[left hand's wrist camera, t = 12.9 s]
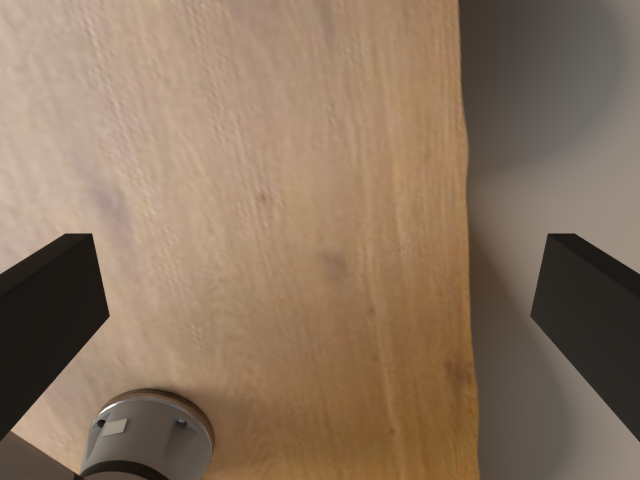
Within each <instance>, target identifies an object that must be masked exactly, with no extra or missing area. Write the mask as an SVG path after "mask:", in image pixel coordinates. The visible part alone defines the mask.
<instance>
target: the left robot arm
mask: <svg viewBox="0 0 640 480" xmlns="http://www.w3.org/2000/svg"><path fill="white" fill-rule="evenodd" d="M109 316H110V315H109V311H108V306H107V301H106V297H105V292H104V287H103V283H102V278H101V273H100V268H99V264H98V259H97V254H96V250H95V245H94V240H93V236H92V234H64V235H62V236H61V237H59V238H58V239H56V240H54V241H53V242H51V243H50V244H48V245H46V246H45V247H43V248H42V249H40V250H38V251H37V252H35V253H34V254H32V255H30V256H29V257H27V258H26V259H24V260H22V261H21V262H19V263H18V264H16V265H14V266H13V267H11V268H9V269H8V270H6V271H5V272H3V273H1V274H0V480H200V478H201V477H202V476H203V474H204V473H205V471H206V470H207V468H208V466H209V464H210V461H211V457H212V454H213V450H214V445H215V437H214V432H213V429H212V427H211V424H210V423H209V421H208V419H207V418H206V417H205V415H204V414H203V413H202V412H201V411H200V410H199V409H198V408H197V407H195V406H194V405H193V404H191V403H190V402H188V401H187V400H185V399H183V398H181V397H178V396H176V395H173V394H170V393H167V392H162V391H156V390H137V391H131V392H127V393H124V394H121V395H119V396H117V397H115V398H113V399H112V400H110V401H109V402H108V403H106V404H105V405H104V407H103V408H102V409H101V410H100V412H99V413H98V415H97V416H96V418H95V420H94V421H93V423H92V425H91V427H90V430H89V434H88V438H87V443H86V447H85V452H84V456H83V461H82V465H81V470H80V474H79V475H78V474H76V473H75V472H73V471H71V470H70V469H68V468H67V467H65V466H64V465H62V464H61V463H59V462H58V461H56V460H54V459H53V458H51V457H50V456H48V455H47V454H45V453H44V452H42V451H41V450H39V449H38V448H36V447H35V446H33V445H31V444H30V443H28V442H27V441H25V440H24V439H22V438H21V437H19V436H18V435H16V434H15V433H13V432H12V431H10V430H11V429H12V428H13V427H14V426H15V424H16V423H17V422H18V421H19V420H20V419H21V418H22V416H23V415H24V414H25V413H26V412H27V411H28V410H29V408H30V407H31V406H32V405H33V404H34V403H35V402H36V400H37V399H38V398H39V397H40V396H41V395H42V393H43V392H44V391H45V390H46V389H47V388H48V387H49V385H50V384H51V383H52V382H53V381H54V380H55V379H56V377H57V376H58V375H59V374H60V373H61V372H62V370H63V369H64V368H65V367H66V366H67V365H68V364H69V362H70V361H71V360H72V359H73V358H74V357H75V356H76V354H77V353H78V352H79V351H80V350H81V349H82V347H83V346H84V345H85V344H86V343H87V342H88V341H89V339H90V338H91V337H92V336H93V335H94V334H95V333H96V331H97V330H98V329H99V328H100V327H101V326H102V324H103V323H104V322H105V321H106V320H107V319H108V318H109ZM530 316H531V318H532V319H533V320H534V321H535V322H536V323H537V324H538V326H539V327H540V328H541V329H542V330H543V331H544V333H545V334H546V335H547V336H548V337H549V338H550V339H551V341H552V342H553V343H554V344H555V345H556V346H557V347H558V349H559V350H560V351H561V352H562V353H563V354H564V356H565V357H566V358H567V359H568V360H569V361H570V362H571V364H572V365H573V366H574V367H575V368H576V369H577V370H578V372H579V373H580V374H581V375H582V376H583V377H584V379H585V380H586V381H587V382H588V383H589V384H590V385H591V387H592V388H593V389H594V390H595V391H596V392H597V393H598V395H599V396H600V397H601V398H602V399H603V400H604V402H605V403H606V404H607V405H608V406H609V407H610V408H611V410H612V411H613V412H614V413H615V414H616V415H617V416H618V418H619V419H620V420H621V421H622V422H623V423H624V424H625V426H626V427H627V428H628V429H629V430H630V431H631V433H632V434H633V435H634V436H635V437H636V438H637V439H638V441H639V442H640V274H638V273H637V272H635V271H634V270H632V269H630V268H629V267H627V266H626V265H624V264H622V263H621V262H619V261H618V260H616V259H614V258H613V257H611V256H610V255H608V254H606V253H605V252H603V251H602V250H600V249H598V248H597V247H595V246H594V245H592V244H590V243H589V242H587V241H586V240H584V239H582V238H581V237H579V236H578V235H576V234H548V236H547V240H546V245H545V250H544V254H543V259H542V264H541V268H540V273H539V278H538V282H537V287H536V292H535V297H534V301H533V306H532V311H531V315H530Z"/></svg>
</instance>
